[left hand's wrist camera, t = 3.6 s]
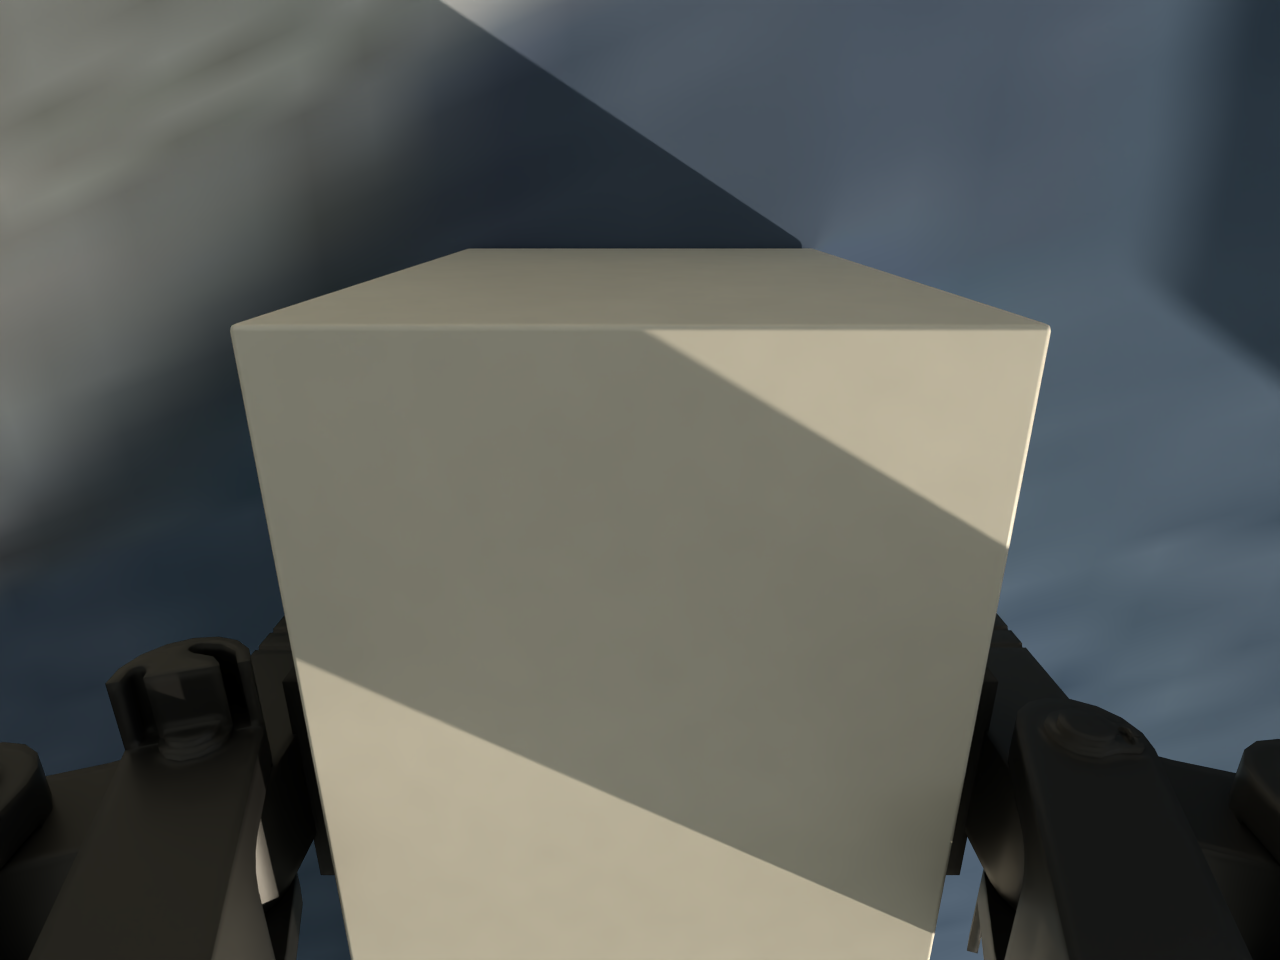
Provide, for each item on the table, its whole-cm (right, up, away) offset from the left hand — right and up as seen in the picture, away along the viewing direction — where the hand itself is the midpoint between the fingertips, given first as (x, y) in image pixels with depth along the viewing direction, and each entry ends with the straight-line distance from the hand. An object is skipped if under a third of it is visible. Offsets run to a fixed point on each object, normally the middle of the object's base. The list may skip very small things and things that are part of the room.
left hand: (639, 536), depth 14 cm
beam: (0, -25, +10) cm, 27 cm away
